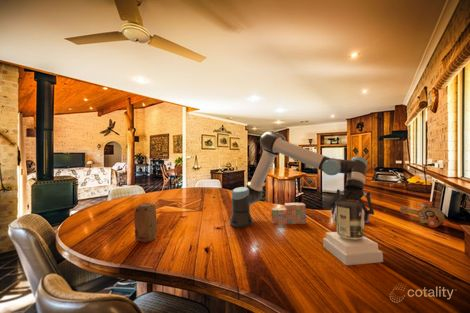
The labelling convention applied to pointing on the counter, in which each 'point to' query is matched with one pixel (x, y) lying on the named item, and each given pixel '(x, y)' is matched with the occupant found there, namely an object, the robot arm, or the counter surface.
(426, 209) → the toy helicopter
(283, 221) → the stack of blocks
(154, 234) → the block
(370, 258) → the tower base
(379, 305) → the counter surface
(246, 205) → the robot arm
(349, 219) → the coffee can
